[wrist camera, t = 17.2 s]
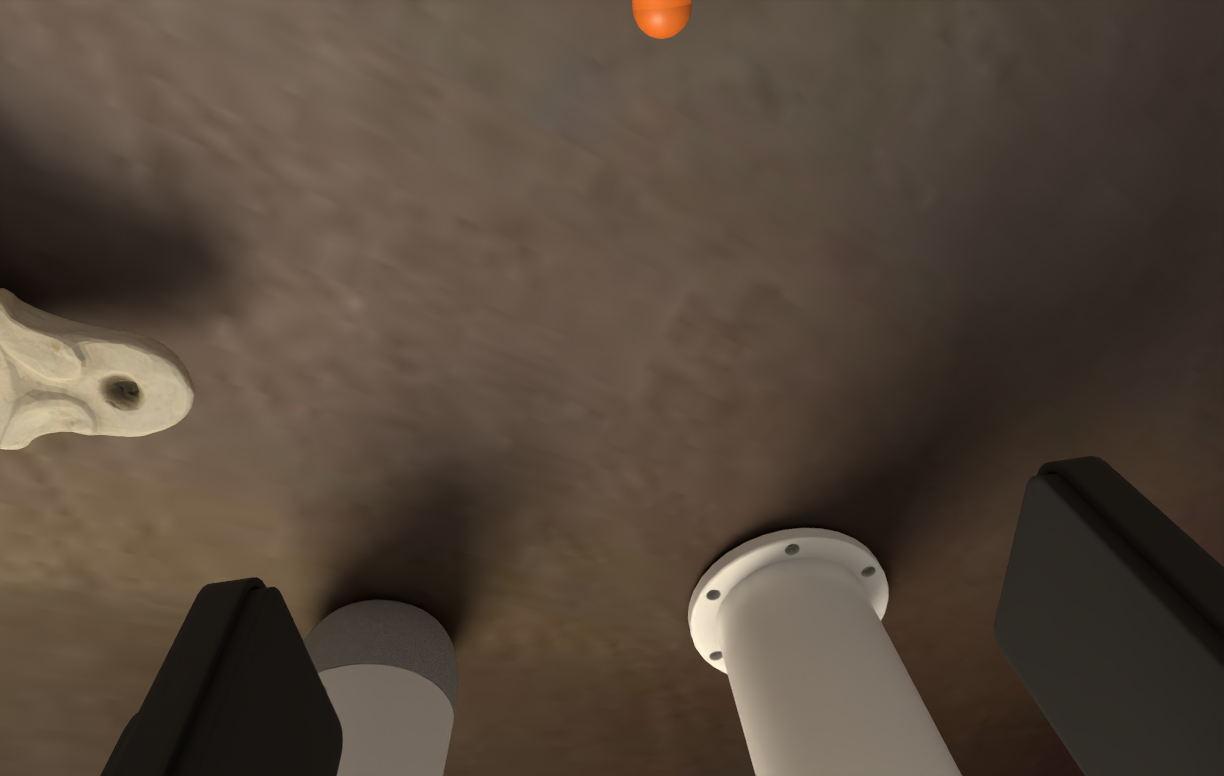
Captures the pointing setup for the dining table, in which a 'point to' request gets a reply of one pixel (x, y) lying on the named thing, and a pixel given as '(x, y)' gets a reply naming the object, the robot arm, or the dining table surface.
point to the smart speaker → (388, 686)
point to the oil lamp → (83, 378)
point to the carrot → (661, 16)
